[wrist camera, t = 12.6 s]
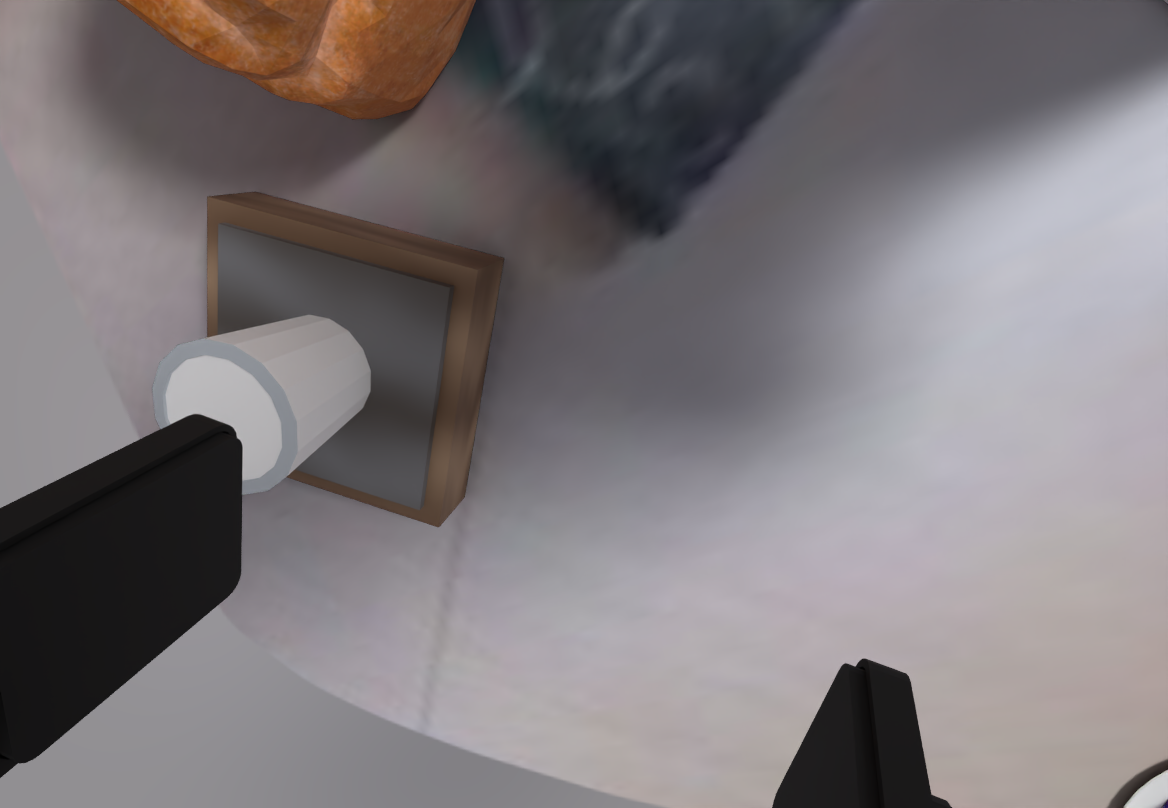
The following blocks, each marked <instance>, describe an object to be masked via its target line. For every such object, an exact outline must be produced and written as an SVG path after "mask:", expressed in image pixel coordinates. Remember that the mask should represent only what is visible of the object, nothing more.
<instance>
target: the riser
mask: <svg viewBox="0 0 1168 808" xmlns="http://www.w3.org/2000/svg"><path fill="white" fill-rule="evenodd" d="M503 262H504V258H502V257H498V256H494V255H490V254H487V253H483V252H479V251H475V250H472V249H468V248H464V247H460V246H457V245H453V244H449V243H445V242H442V241H438V240H434V239H430V238H427V237H423V236H419V235H416V234H412V233H408V232H404V231H401V230H397V229H393V228H389V227H386V226H382V225H378V224H374V223H371V222H367V221H363V220H359V219H356V218H352V217H348V216H344V215H341V214H337V213H333V212H329V211H326V210H322V209H318V208H314V207H311V206H307V205H303V204H299V203H296V202H292V201H288V200H284V199H281V198H277V197H273V196H270V195H266V194H262V193H258V192H247V193H238V194H228V195H219V196H209V197H207V338H208V337H212V336H216V335H221V334H225V333H230V332H234V331H239V330H243V329H247V328H252V327H256V326H261V325H265V324H269V323H274V322H278V321H283V320H287V319H292V318H296V317H300V316H305V315H314V316H319V317H324V318H329V319H331V320H332V321H334V322H336V323H337V324H339V325H340V326H342V327H343V328H345V329H346V330H348V331H349V332H350V333H351V335H352V336H353V337H354V338H355V340H356V341H357V342H358V343H359V345H360V346H361V347H362V348H363V350H364V353H365V356H366V359H367V361H368V364H369V367H370V370H371V391H370V394H369V396H368V398H367V400H366V402H365V404H364V407H363V409H361V410H360V411H359V412H358V413H357V414H356V415H355V416H354V417H353V418H351V419H350V420H349V421H348V422H347V423H346V424H345V425H344V426H343V427H341V428H340V429H339V430H338V431H337V432H336V433H335V434H334V435H333V436H331V437H330V438H329V439H328V440H327V441H326V442H325V443H324V444H322V445H321V446H320V447H319V448H318V449H317V450H316V451H315V452H314V453H312V454H311V455H310V456H309V457H308V458H307V459H306V460H305V461H304V462H302V463H301V464H300V465H299V466H298V467H297V468H296V469H295V470H294V471H292V472H291V473H290V474H289V475H288V476H287V477H288V478H291V479H294V480H297V481H300V482H303V483H306V484H309V485H312V486H315V487H318V488H321V489H324V490H327V491H330V492H333V493H336V494H339V495H342V496H345V497H348V498H351V499H354V500H357V501H360V502H363V503H366V504H369V505H372V506H375V507H378V508H381V509H385V510H388V511H391V512H394V513H397V514H400V515H403V516H406V517H409V518H412V519H415V520H418V521H421V522H424V523H427V524H430V525H433V526H436V527H440V526H441V524H442V523H443V522H444V521H445V520H446V519H447V517H448V516H449V515H450V514H451V513H452V511H453V510H454V509H455V508H456V507H457V506H458V504H459V503H460V502H461V501H462V500H463V499H464V497H465V492H466V486H467V480H468V474H469V468H470V462H471V456H472V450H473V444H474V438H475V432H476V426H477V420H478V414H479V408H480V401H481V395H482V389H483V383H484V377H485V371H486V365H487V359H488V353H489V347H490V341H491V335H492V329H493V323H494V317H495V310H496V304H497V298H498V292H499V286H500V280H501V274H502V268H503Z"/></svg>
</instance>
